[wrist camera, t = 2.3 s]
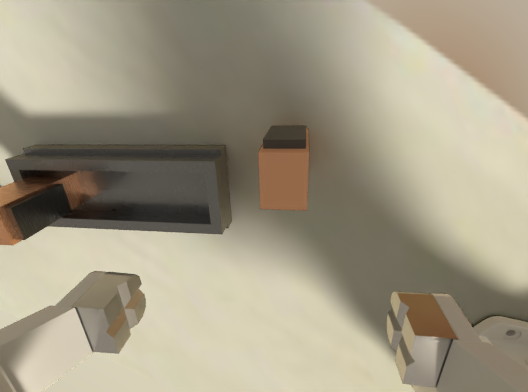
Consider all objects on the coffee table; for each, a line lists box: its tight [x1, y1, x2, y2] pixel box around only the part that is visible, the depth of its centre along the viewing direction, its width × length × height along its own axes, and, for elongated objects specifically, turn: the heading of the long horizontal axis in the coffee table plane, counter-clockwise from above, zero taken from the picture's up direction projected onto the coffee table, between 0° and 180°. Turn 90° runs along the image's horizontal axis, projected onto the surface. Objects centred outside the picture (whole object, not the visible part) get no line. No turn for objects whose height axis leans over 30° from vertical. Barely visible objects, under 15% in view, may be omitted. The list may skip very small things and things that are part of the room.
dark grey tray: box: [0, 145, 232, 245], centre depth 25 cm, size 20×8×10 cm, turn 93°
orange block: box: [258, 126, 309, 211], centre depth 22 cm, size 5×3×8 cm
